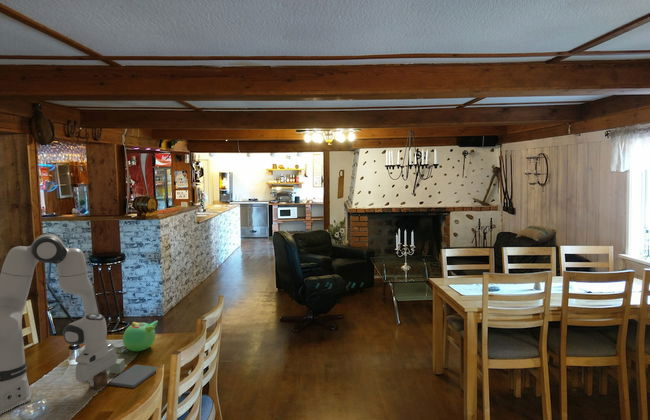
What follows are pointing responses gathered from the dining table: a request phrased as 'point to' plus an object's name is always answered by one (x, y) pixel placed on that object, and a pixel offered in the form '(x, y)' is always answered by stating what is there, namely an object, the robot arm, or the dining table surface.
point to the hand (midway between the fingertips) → (98, 382)
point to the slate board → (133, 376)
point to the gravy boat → (139, 336)
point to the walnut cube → (99, 380)
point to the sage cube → (117, 366)
